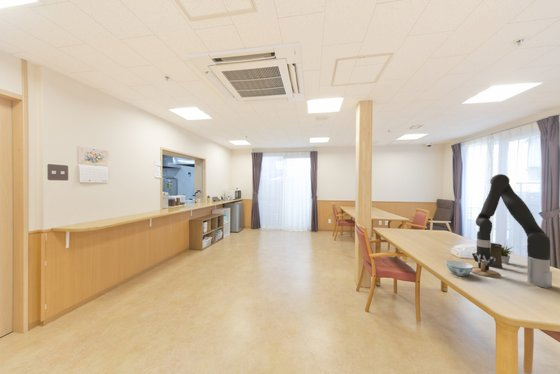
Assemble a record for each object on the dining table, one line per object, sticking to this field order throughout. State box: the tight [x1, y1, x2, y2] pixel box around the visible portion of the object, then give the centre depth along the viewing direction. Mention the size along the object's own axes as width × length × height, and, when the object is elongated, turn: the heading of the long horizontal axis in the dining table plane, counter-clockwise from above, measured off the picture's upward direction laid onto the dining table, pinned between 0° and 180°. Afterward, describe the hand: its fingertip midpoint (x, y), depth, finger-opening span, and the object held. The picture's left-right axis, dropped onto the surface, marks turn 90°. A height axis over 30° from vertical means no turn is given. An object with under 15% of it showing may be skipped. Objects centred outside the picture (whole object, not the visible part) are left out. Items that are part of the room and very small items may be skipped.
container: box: [489, 242, 503, 270], centre depth 167 cm, size 9×9×18 cm
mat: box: [469, 272, 506, 280], centre depth 155 cm, size 17×17×1 cm
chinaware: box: [445, 259, 474, 277], centre depth 153 cm, size 15×15×8 cm
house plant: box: [501, 243, 513, 265], centre depth 177 cm, size 14×14×16 cm
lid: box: [471, 260, 502, 279], centre depth 155 cm, size 17×17×8 cm
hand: (483, 269), depth 155 cm, fingers closed on lid, 3 cm apart
